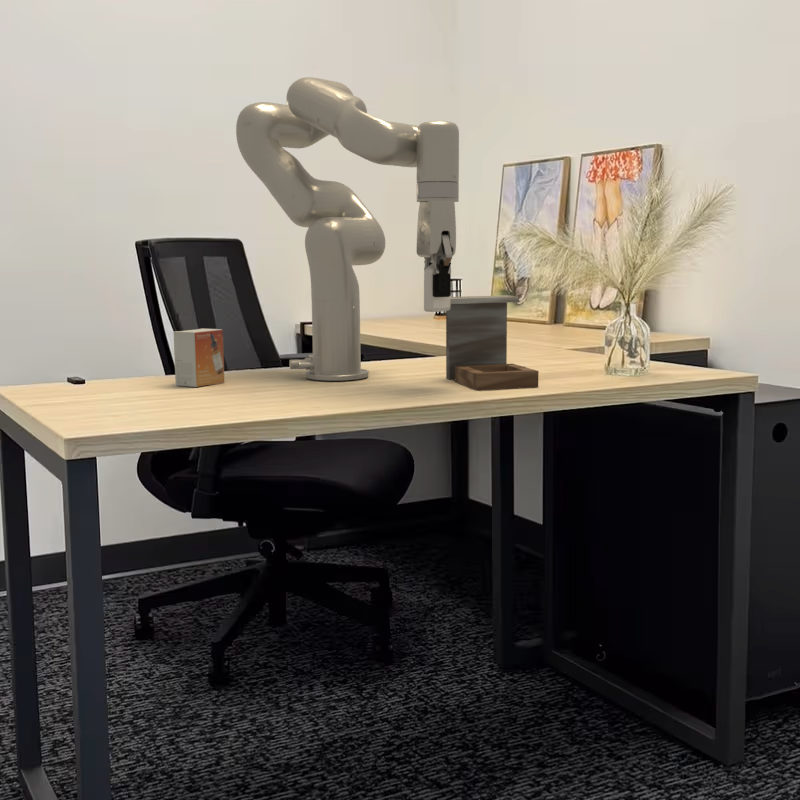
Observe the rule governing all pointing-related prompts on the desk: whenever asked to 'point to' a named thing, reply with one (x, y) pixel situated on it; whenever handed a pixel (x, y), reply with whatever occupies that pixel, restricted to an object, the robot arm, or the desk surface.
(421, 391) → the desk surface
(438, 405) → the desk surface
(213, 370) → the small box
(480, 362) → the display stand with tray
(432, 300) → the eye dropper bottle
